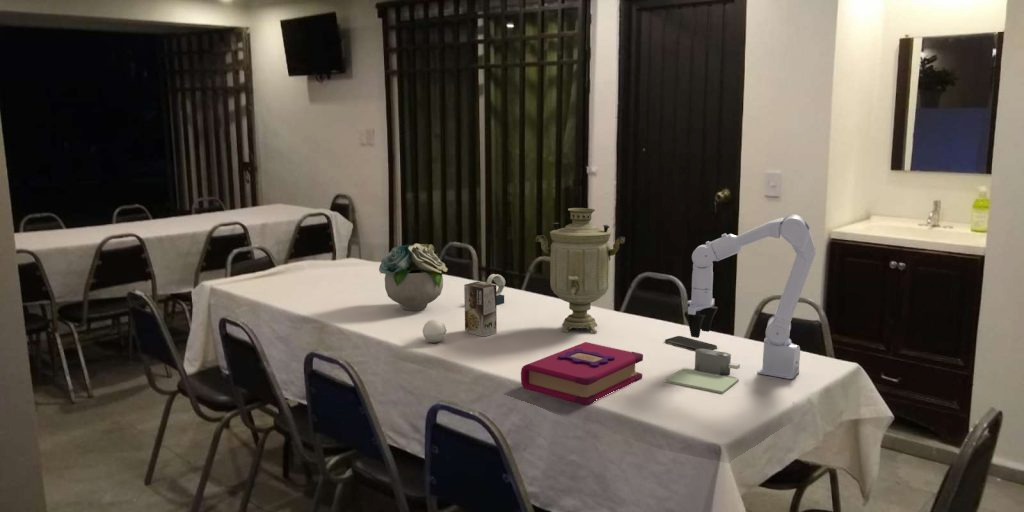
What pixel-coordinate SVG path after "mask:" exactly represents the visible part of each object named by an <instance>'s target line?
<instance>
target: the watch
mask: <svg viewBox="0 0 1024 512" xmlns="http://www.w3.org/2000/svg"><path fill="white" fill-rule="evenodd" d="M492 281H493V282H494V283H495V285H497V286H496V287H498V288H497V289H496V306H499V305H503V304H505V295H504V294H502V292H503V291H504V288H505V285H506V280H505V277H503V276H502V275H501V274H495V273H492V274H490V275H489V276H488V277H487V279H486V282H485V283H488V284H492Z"/></svg>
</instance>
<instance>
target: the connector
mask: <svg viewBox="0 0 1024 512" xmlns="http://www.w3.org/2000/svg"><path fill="white" fill-rule="evenodd" d="M694 354H695V355H694V360H695V361H694V371H699V372H705V373H710V374H715V375H720V376H725V377H728V376H730V374H731V369H732V370H733V369H734V370H738V369H740V367H741V364H740V363H736V362H732V361H731V359H732V354H731V353H728V352H724V351H719V350H715V349H714V350H708V349H696V351H695V353H694Z"/></svg>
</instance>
